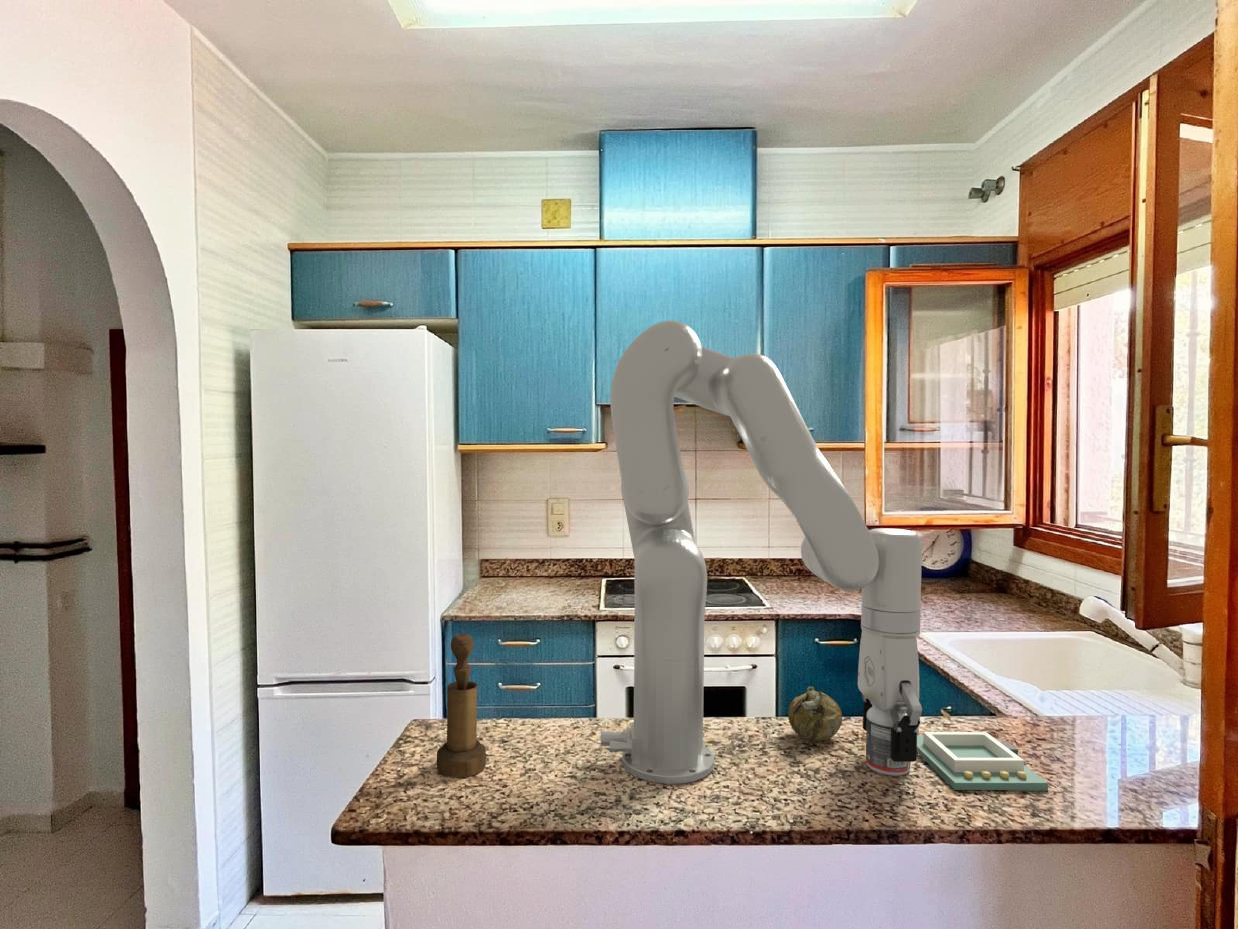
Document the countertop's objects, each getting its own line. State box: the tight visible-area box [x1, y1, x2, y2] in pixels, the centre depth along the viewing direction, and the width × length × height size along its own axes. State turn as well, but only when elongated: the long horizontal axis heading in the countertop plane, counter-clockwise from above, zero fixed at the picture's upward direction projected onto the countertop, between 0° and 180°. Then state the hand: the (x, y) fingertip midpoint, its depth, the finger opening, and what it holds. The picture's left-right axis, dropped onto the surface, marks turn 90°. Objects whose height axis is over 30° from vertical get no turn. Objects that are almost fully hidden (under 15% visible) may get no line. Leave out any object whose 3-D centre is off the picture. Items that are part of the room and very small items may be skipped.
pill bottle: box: [865, 701, 912, 777], centre depth 95 cm, size 6×6×10 cm
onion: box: [787, 686, 843, 742], centre depth 105 cm, size 8×8×8 cm
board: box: [917, 731, 1049, 792], centre depth 97 cm, size 12×15×3 cm
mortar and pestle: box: [436, 633, 487, 778], centre depth 94 cm, size 7×6×18 cm
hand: (888, 744), depth 96 cm, fingers open, 9 cm apart
